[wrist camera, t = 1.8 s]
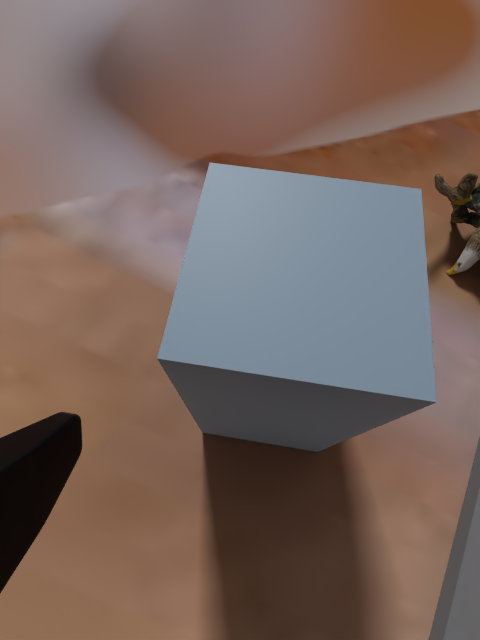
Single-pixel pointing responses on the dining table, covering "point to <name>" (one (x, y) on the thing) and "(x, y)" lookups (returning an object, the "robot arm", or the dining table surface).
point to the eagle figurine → (464, 215)
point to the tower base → (462, 572)
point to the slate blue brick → (301, 308)
